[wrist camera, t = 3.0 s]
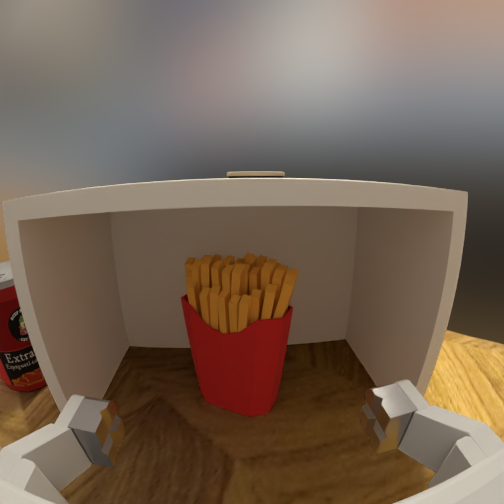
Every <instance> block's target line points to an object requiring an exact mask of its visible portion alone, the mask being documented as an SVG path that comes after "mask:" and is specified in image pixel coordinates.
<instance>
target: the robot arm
mask: <svg viewBox="0 0 504 504" xmlns="http://www.w3.org/2000/svg"><path fill="white" fill-rule="evenodd" d="M364 398H365V400H366V403H365V404H364V405H363V406H362V408H361V412H360V422H361V426H362V428H363V430H364V432H365V433H367V434H369V435H371V436H370V439H369V442H370V444H371V446H372V448H373V450H374V452H375V454H379V453H383V452H386V451H390V450H393V449H397V448H398V450H400V451H401V452H403V453H405V454H406V455H408V456H409V457H411V458H412V459H414V460H416V461H417V462H419V463H421V464H422V465H424V466H426V467H427V468H429V469H431V470H432V471H434V472H436V473H435V475H434V476H433V477H432V479H431V480H430V481H429V483H428V485H427V486H428V487H429V489H427V490H425V491H423V492H420V493H418V494H416V495H413V496H411V497H408V498H406V499H403V500H401V501H398V502H396V503H393V504H504V443H503V442H502V441H501V439H500V438H499V437H498V436H497V435H496V434H495V433H494V432H493V430H492V429H491V428H490V427H489V426H488V425H487V424H486V423H483V422H480V421H477V420H474V419H471V418H468V417H465V416H462V415H460V414H457V413H454V412H451V411H449V410H446V409H443V408H441V407H438V406H436V405H433V406H430V405H429V403H428V402H427V401H426V400H425V398H424V397H423V396H422V395H421V394H420V392H419V391H418V390H417V389H416V387H415V386H414V385H413V384H412V383H411V381H409V380H407V379H405V380H402V381H398V382H394V383H390V384H386V385H382V386H378V387H374V388H369V389H368V390H367V391H366V393H365V396H364ZM117 410H118V408H117V406H116V404H115V402H114V401H112V400H105V399H99V398H93V397H87V396H86V397H85V396H80V395H75V394H74V395H72V396H71V397H70V399H69V400H68V402H67V403H66V405H65V407H64V408H63V410H62V412H61V413H60V415H59V417H58V418H57V420H56V422H55V423H54V424H52V423H50V424H48V425H46V426H44V427H43V428H41V429H39V430H37V431H35V432H33V433H31V434H29V435H27V436H25V437H23V438H21V439H19V440H17V441H15V442H13V443H11V444H9V445H7V446H5V447H3V448H2V450H1V451H0V504H69V503H68V501H67V500H66V499H65V498H64V497H63V496H62V495H61V494H60V493H59V492H60V491H62V490H63V489H64V488H65V487H66V486H68V485H69V484H70V483H71V482H72V481H74V480H75V479H76V478H77V477H78V476H80V475H81V474H82V473H83V472H84V471H86V470H87V469H88V468H89V467H90V466H91V465H92V464H97V465H103V466H108V467H114V468H115V465H116V462H117V459H118V456H119V452H118V450H117V447H119V446H120V445H121V444H123V440H124V434H125V428H124V423H123V421H122V418H120V417H119V416H118V415H117V414H116V413H117Z"/></svg>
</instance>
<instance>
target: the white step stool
mask: <svg viewBox="0 0 504 504" xmlns="http://www.w3.org/2000/svg"><path fill="white" fill-rule="evenodd" d="M467 201H468V192H464V191H457V190H449V189H442V188H433V187H424V186H416V185H405V184H395V183H383V182H370V181H354V180H334V179H305V178H225V179H224V178H223V179H194V180H175V181H158V182H145V183H131V184H122V185H121V184H120V185H110V186H100V187H92V188H83V189H76V190H68V191H60V192H53V193H47V194H41V195H34V196H28V197H23V198H17V199H11V200H6V201H3V214H4V224H5V232H6V240H7V247H8V252H9V259H10V265H11V270H12V275H13V280H14V284H15V288H16V293H17V297H18V301H19V305H20V308H21V312H22V315H23V319H24V322H25V326H26V329H27V332H28V335H29V338H30V341H31V344H32V347H33V350H34V352H35V355H36V358H37V361H38V363H39V366H40V368H41V371H42V373H43V376H44V378H45V380H46V383H47V385H48V387H49V390H50V392H51V394H52V396H53V398H54V400H55V403H56V405H57V407H58V409H59V411H60V413H61V412H62V410H63V408H64V407H65V405H66V403H67V402H68V400H69V399H70V397H71V396H72V395H74V394H75V395H80V396H85V397H86V396H87V397H93V398H99V399H103V397H104V395H105V393H106V391H107V389H108V387H109V385H110V383H111V381H112V379H113V377H114V375H115V373H116V371H117V369H118V367H119V365H120V363H121V361H122V359H123V358H124V356H125V354H126V352H127V350H128V348H129V346H136V347H162V348H190V343H189V338H188V334H187V329H186V324H185V319H184V313H183V308H182V303H181V297H182V296H184V295H186V294H187V288H186V287H187V285H186V270H185V263H186V261H187V259H188V257H195V260H196V259H200V260H201V259H202V258H203V256H204V255H211V257H213V256H214V255H215V254H218V255H221V260H223V258H226V257H227V255H229V256H234V258H235V261H236V260H237V259H238V258H241V259H243V257H244V256H245V255H246V254H247V253H250V254H254V256H256V257H257V258H258V257H259V256H260V255H262V256H266V257H267V260H268V259H269V258H270V259H276V262H277V263H281V264H282V265H286V266H288V268H287V272H288V271H289V269H290V268H293V269H296V270H298V271H299V272H298V276H297V279H296V283H295V286H294V289H293V293H292V296H291V299H290V302H289V305H290V306H292V307H293V312H292V319H291V325H290V331H289V337H288V342H287V345H291V344H303V343H315V342H325V341H334V340H343V339H345V340H346V341H347V343H348V344H349V346H350V347H351V349H352V350H353V351H354V353H355V354H356V356H357V357H358V359H359V360H360V362H361V363H362V365H363V366H364V368H365V369H366V371H367V372H368V374H369V376H370V377H371V379H372V380H373V382H374V383H375V385H376V386H377V387H378V386H382V385H386V384H390V383H394V382H398V381H402V380H405V379H407V380H409V381H411V383H412V384H413V385H414V386H415V387H416V389H417V390H418V391H419V392H420V394H421V395H422V396H423V397H424V394H425V392H426V389H427V387H428V384H429V381H430V379H431V376H432V373H433V370H434V367H435V365H436V362H437V359H438V355H439V352H440V349H441V346H442V343H443V339H444V336H445V332H446V329H447V325H448V321H449V317H450V313H451V308H452V304H453V300H454V296H455V291H456V286H457V281H458V276H459V270H460V264H461V258H462V251H463V244H464V235H465V226H466V214H467ZM234 263H235V262H234Z"/></svg>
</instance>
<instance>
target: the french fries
mask: <svg viewBox="0 0 504 504" xmlns="http://www.w3.org/2000/svg"><path fill="white" fill-rule="evenodd" d="M234 262H235V263H234ZM287 268H288V266H286V265H282V264H281V263H277V262H276V259H270V258H269V259H268V260H267V257H266V256H262V255H260V256H259V257H258V258H257V257H256V256H254V254H250V253H247V254H246V255H245V256H244V257H243V259H241V258H238V259H237V260H236V261H235V258H234V256H229V255H227V257H226V258H223V260H221V255H218V254H215V255H214V256H213V257H211V255H204V256H203V258H202V259H201V260H200V259H196V260H195V257H188V259H187V261H186V263H185V270H186V285H187V287H186V288H187V294H186V295H184V296H182V297H181V303H182V308H183V313H184V319H185V324H186V329H187V334H188V338H189V343H190V348H191V352H192V357H193V361H194V366H195V370H196V374H197V379H198V383H199V387H200V391H201V393H202V395H203V397H204V399H205V401H206V402H208V403H211V404H213V405H216V406H218V407H221V408H224V409H226V410H229V411H232V412H235V413H239V414H242V415H246V416H249V417H252V416H258V415H263V414H268V413H269V411H270V410H271V408H272V407H273V405H274V403H275V402H276V400H277V396H278V391H279V386H280V381H281V376H282V370H283V365H284V359H285V354H286V348H287V342H288V337H289V331H290V325H291V319H292V312H293V307H292V306H290V305H289V302H290V299H291V296H292V293H293V289H294V286H295V283H296V279H297V276H298V272H299V271H298V270H296V269H293V268H290V269H289V271H288V272H287Z"/></svg>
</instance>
